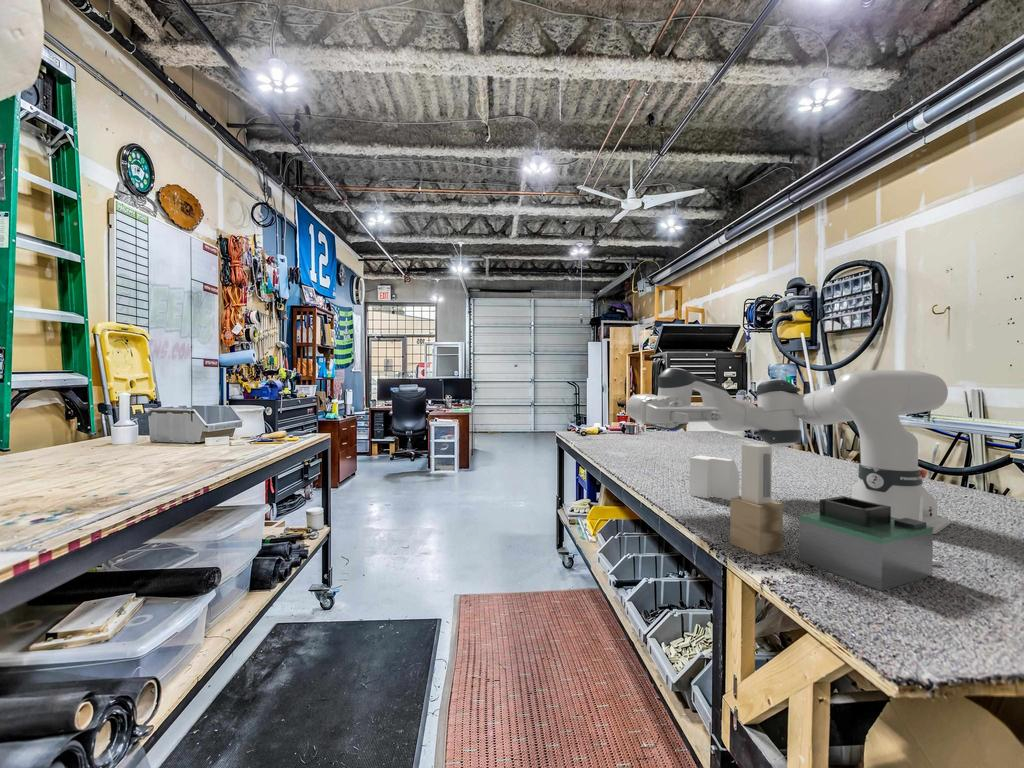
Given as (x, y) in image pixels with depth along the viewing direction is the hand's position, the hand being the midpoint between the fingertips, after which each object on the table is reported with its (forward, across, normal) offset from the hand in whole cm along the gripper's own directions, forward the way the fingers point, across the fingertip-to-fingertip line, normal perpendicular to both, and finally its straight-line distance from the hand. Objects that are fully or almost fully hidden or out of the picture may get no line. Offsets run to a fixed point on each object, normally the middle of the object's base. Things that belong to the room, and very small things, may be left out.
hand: (705, 417), depth 107 cm
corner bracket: (-20, -25, -28) cm, 42 cm away
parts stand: (+16, 0, -26) cm, 31 cm away
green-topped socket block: (+30, -11, -26) cm, 41 cm away
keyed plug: (+16, 0, -16) cm, 23 cm away
